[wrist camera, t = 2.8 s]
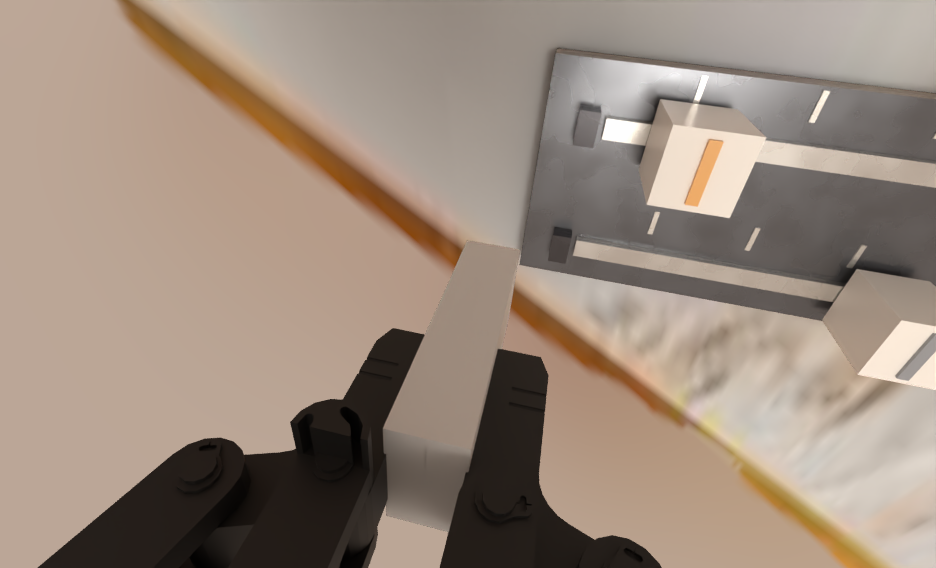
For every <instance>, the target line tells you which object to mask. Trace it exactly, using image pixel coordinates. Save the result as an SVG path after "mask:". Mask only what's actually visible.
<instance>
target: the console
mask: <svg viewBox="0 0 936 568" xmlns="http://www.w3.org/2000/svg"><path fill="white" fill-rule="evenodd" d="M660 99H663V100H671V101H678V102H686V103H694V104H701V105H709V106H717V107H724V108H732V109H738V110H739V111H740V112H741V113H742V114H743V115H744V116H745V117H746V118H747V119H748V120H749V121H750V122H751V123H752V124H753V125H754V126H755V127H756V128H757V129H758V130H759V131H760V132H761V133H762V134H763V135H764V136H766V140H765V142H764V144H763V146H762V148H761V151H760V153H759V155H758V157H757V159H756V162H755V164H754V166H753V168H752V170H751V173H750V175H749V177H748V179H747V181H746V183H745V186H744V188H743V190H742V192H741V194H740V197H739V199H738V201H737V203H736V205H735V208H734V210H733V212H732V214H731V216H730V218H726V217H719V216H713V215H707V214H701V213H695V212H688V211H682V210H676V209H670V208H664V207H657V206H651V205H647V204H646V200H645V195H644V191H643V187H642V182H641V178H640V174H639V167H640V163H641V160H642V157H643V154H644V150H645V147H646V144H647V141H648V137H649V134H650V131H651V127H652V124H653V121H654V118H655V114H656V111H657V108H658V105H659V101H660ZM520 265H523V266H529V267H534V268H539V269H545V270H550V271H556V272H561V273H567V274H572V275H577V276H583V277H588V278H594V279H599V280H604V281H610V282H615V283H621V284H626V285H632V286H637V287H642V288H648V289H653V290H659V291H664V292H669V293H675V294H680V295H686V296H691V297H697V298H702V299H707V300H713V301H718V302H724V303H729V304H734V305H740V306H745V307H751V308H756V309H762V310H767V311H772V312H778V313H783V314H789V315H794V316H799V317H805V318H810V319H816V320H821V321H822V319H823V318H824V316H825V315H826V313H827V312H828V310H829V309H830V307H831V306H832V305H833V303H834V302H835V300H836V299H837V297H838V296H839V294H840V293H841V291H842V290H843V288H844V287H845V286H846V284H847V283H848V281H849V280H850V278H851V277H852V275H853V274H854V272H855V271H856V269H859V270H865V271H871V272H877V273H883V274H889V275H895V276H901V277H907V278H912V279H918V280H924V281H930V282H931V283H932V284H933V285H934V286H936V93H928V92H919V91H911V90H903V89H894V88H886V87H878V86H870V85H861V84H853V83H845V82H836V81H828V80H820V79H811V78H803V77H795V76H786V75H778V74H770V73H761V72H753V71H745V70H736V69H728V68H720V67H712V66H703V65H695V64H687V63H678V62H670V61H662V60H653V59H645V58H637V57H628V56H620V55H612V54H603V53H595V52H587V51H578V50H570V49H562V48H558V49H557V51H556V54H555V60H554V66H553V72H552V77H551V83H550V89H549V95H548V101H547V107H546V113H545V118H544V124H543V130H542V136H541V142H540V148H539V154H538V159H537V165H536V171H535V177H534V183H533V189H532V195H531V200H530V206H529V212H528V218H527V224H526V230H525V236H524V241H523V247H522V253H521V259H520Z"/></svg>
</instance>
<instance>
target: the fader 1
mask: <svg viewBox="0 0 936 568" xmlns="http://www.w3.org/2000/svg"><path fill="white" fill-rule="evenodd" d="M765 140H766V136H764V135H763V134H762V133H761V132H760V131H759V130H758V129H757V128H756V127H755V126H754V125H753V124H752V123H751V122H750V121H749V120H748V119H747V118H746V117H745V116H744V115H743V114H742V113H741V112H740V111H739V110H738V109H732V108H724V107H717V106H709V105H701V104H694V103H686V102H678V101H671V100H663V99H660V101H659V105H658V108H657V111H656V114H655V118H654V121H653V124H652V127H651V131H650V134H649V137H648V141H647V144H646V147H645V150H644V154H643V157H642V160H641V163H640V167H639V174H640V178H641V182H642V187H643V191H644V195H645V200H646V204H647V205H651V206H657V207H664V208H670V209H676V210H682V211H688V212H695V213H701V214H707V215H713V216H719V217H726V218H730V216H731V214H732V212H733V210H734V208H735V205H736V203H737V201H738V199H739V197H740V194H741V192H742V190H743V188H744V186H745V183H746V181H747V179H748V177H749V175H750V173H751V170H752V168H753V166H754V164H755V162H756V159H757V157H758V155H759V153H760V151H761V148H762V146H763V144H764V142H765Z"/></svg>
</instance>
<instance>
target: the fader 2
mask: <svg viewBox="0 0 936 568" xmlns="http://www.w3.org/2000/svg"><path fill="white" fill-rule="evenodd" d="M822 321H823V322H824V324H825V325H826V327H827V328H828V330H829V331H830V333H831V335H832V336H833V338H834V339H835V341H836V342H837V344H838V345H839V347H840V348H841V350H842V351H843V353H844V355H845V356H846V358H847V359H848V361H849V362H850V364H851V365H852V367H853V368H854V370H855V371H856V373H857V374H858V375H863V376H868V377H873V378H878V379H883V380H888V381H893V382H898V383H903V384H908V385H913V386H918V387H924V388H929V389H934V390H936V286H934V285H933V284H932V283H931V282H930V281H924V280H918V279H912V278H907V277H901V276H895V275H889V274H883V273H877V272H871V271H865V270H859V269H856V271H855V272H854V274H853V275H852V277H851V278H850V280H849V281H848V283H847V284H846V286H845V287H844V288H843V290H842V291H841V293H840V294H839V296H838V297H837V299H836V300H835V302H834V303H833V305H832V306H831V307H830V309H829V310H828V312H827V313H826V315H825V316H824V318H823V319H822Z"/></svg>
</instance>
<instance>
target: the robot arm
mask: <svg viewBox="0 0 936 568" xmlns="http://www.w3.org/2000/svg"><path fill="white" fill-rule="evenodd" d="M519 254H520V250H519V249H513V248H508V247H502V246H496V245H491V244H485V243H479V242H474V241H468V240H467V242H466V244H465V247H464V249H463V251H462V253H461V255H460V258H459V260H458V262H457V264H456V267H455V269H454V271H453V273H452V276H451V278H450V280H449V282H448V284H447V287H446V289H445V291H444V294H443V296H442V298H441V300H440V302H439V304H438V307H437V309H436V311H435V313H434V316H433V318H432V320H431V322H430V325H429V327H428V329H427V331H426V334H425V335H424V334H419V333H414V332H409V331H404V330H400V329H394V328H393V329H391V330H390V331H389V332H387V333H386V334H385V335H384V336H382V337H381V338H380V339H378V340H377V341H376V343H375V344H374V346H373V348H372V350H371V351H370V353H369V355H368V357H367V360H365V362H364V363H363V365H362V367H361V369H360V372H359V374H357V376H356V377H355V379H354V381H353V383H352V385H351V386H350V388H349V390H348V392H347V393H346V395H345V397H344V399H343V400H337V399H330V400H325V401H321V402H317V403H314V404H312V405H311V406H308V407H307V408H305V409H303V410H302V411H300V412H299V413H298V414H297V415H296V417H295V418H294V419H293V420H292V421H291V422H290V423H291V427H292V432H293V437H294V441H295V446H296V449H294V450H292V451H286V452H280V453H266V454H252V455H244V454H243V451H242V450H241V448H240V447H239V446H238V445H237V444H236V443H234V442H233V441H230V440H227V439H223V438H209V439H203V440H200V441H197V442H194V443H191V444H188V445H187V446H185V447H184V448H182V449H180V450H179V451H177V452H176V453H174V454H173V455H172V456H170V457H169V458H168V459H167V460H166V461H164V462H163V463H162V464H161V465H160V466H158V467H157V468H156V469H155V470H154V471H152V472H151V473H150V474H149V475H148V476H146V477H145V478H144V479H143V480H142V481H140V482H139V483H138V484H137V485H136V486H135V487H133V488H132V489H131V490H130V491H129V492H127V493H126V494H125V495H124V496H123V497H121V498H120V499H119V500H118V501H117V502H115V503H114V504H113V505H112V506H111V507H110V508H108V509H107V510H106V511H105V512H103V513H102V514H101V515H100V516H99V517H97V518H96V519H95V520H94V521H93V522H92V523H90V524H89V525H88V526H87V527H86V528H85V529H83V530H82V531H81V532H80V533H78V534H77V535H76V536H75V537H74V538H72V539H71V540H70V541H69V542H68V543H67V544H65V545H64V546H63V547H62V548H61V549H59V550H58V551H57V552H56V553H55V554H54V555H52V556H51V557H50V558H49V559H47V560H46V561H45V562H44V563H43V564H42V565H40V566H39V567H38V568H368V566H369V564H370V561H371V558H372V555H373V553H374V550H375V547H376V541H377V536H378V532H377V526H378V523H379V521H380V518H381V515H382V513H383V510H384V507H385V505H386V515H387V516H390V517H393V518H397V519H401V520H405V521H409V522H413V523H416V524H420V525H424V526H427V527H432V528H435V529H439V530H443V531H447V532H449V533H448V537H447V541H446V545H445V549H444V553H443V557H442V561H441V564H440V568H661V566H660V564H659V563H658V562H657V561H656V560H655V559H654V557H653V556H652V555H651V554H650V553H649V552H648V551H647V550H646V549H645V548H643V547H642V546H640V545H638V544H636V543H635V542H633V541H631V540H629V539H627V538H622V537H617V536H613V535H612V536H607V537H602V538H598V539H596V540H594V539H592V538H591V537H589V536H587V535H586V534H584V533H582V532H581V531H579V530H578V529H576V528H574V527H573V526H571V525H569V524H568V523H567V522H565V521H564V520H563V519H561V518H560V517H558V516H557V514H556V513H555V512H554V511H553V510H552V509H551V508H550V507H549V505H548V504H547V502H546V500H545V498H544V496H543V495H542V491H541V488H540V485H539V466H540V456H541V445H542V435H543V424H544V415H545V414H544V412H545V404H546V394H547V384H548V373H547V371H546V369H545V366H544V364H543V361H542V359H541V357H536V356H532V355H526V354H522V353H517V352H512V351H507V350H503V349H502V347H503V343H504V338H505V334H506V329H507V325H508V319H509V313H510V307H511V301H512V295H513V289H514V283H515V278H516V272H517V266H518V260H519Z"/></svg>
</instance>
